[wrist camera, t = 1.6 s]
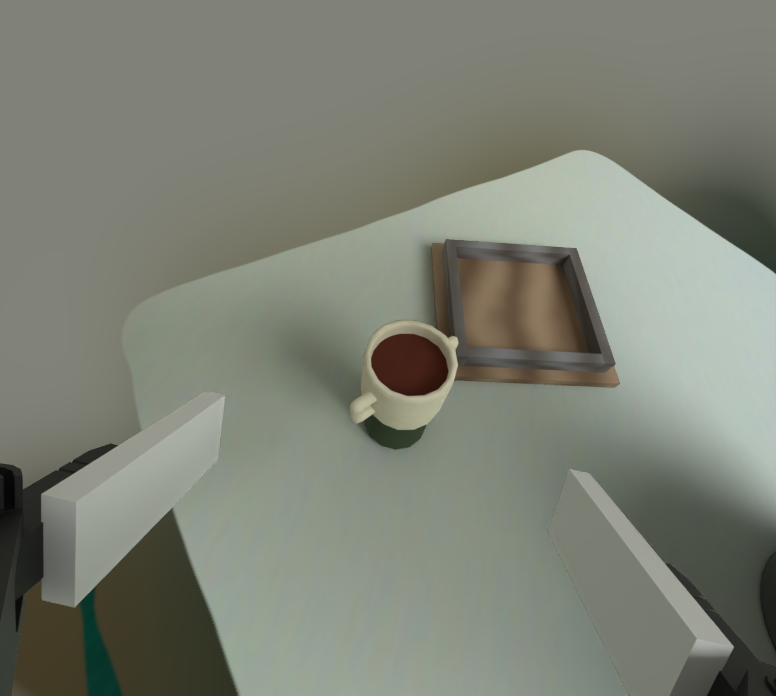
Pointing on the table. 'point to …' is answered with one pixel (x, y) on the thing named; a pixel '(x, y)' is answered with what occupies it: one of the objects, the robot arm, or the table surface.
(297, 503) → the table surface
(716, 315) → the table surface
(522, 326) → the mug dock
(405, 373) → the character mug
